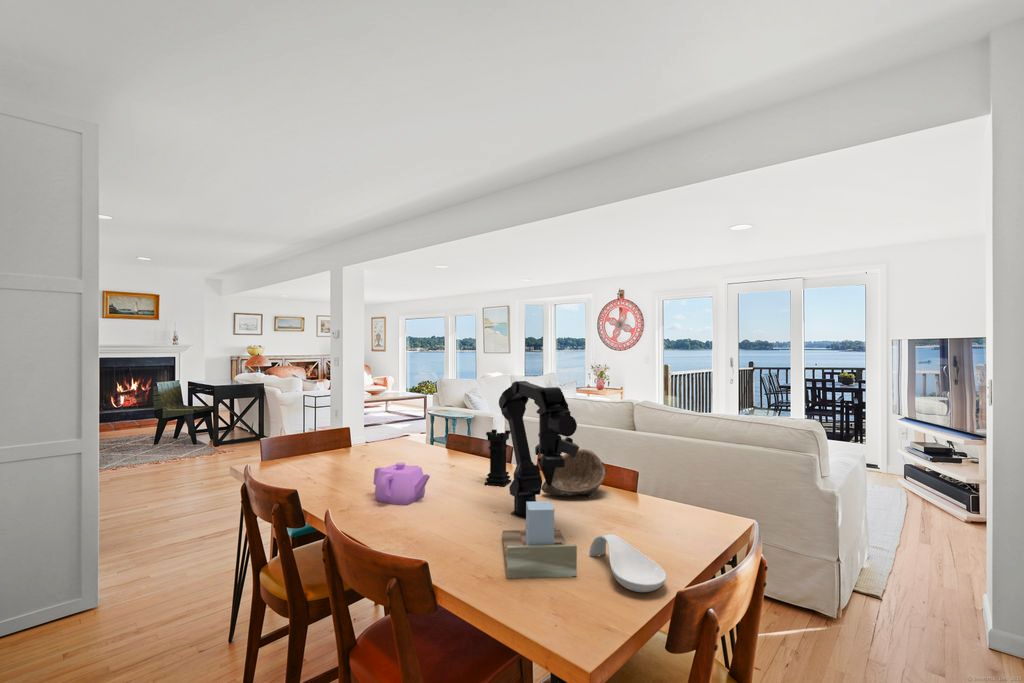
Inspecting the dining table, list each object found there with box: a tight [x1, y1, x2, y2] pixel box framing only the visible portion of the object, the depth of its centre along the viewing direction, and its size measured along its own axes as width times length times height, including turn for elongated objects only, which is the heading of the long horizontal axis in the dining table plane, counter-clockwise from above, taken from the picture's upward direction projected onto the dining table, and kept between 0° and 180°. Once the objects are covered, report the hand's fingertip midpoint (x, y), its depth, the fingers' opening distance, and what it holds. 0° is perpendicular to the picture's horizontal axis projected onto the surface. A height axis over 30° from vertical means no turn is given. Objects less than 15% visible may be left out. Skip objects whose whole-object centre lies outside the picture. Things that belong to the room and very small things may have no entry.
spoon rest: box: [588, 533, 667, 593], centre depth 116 cm, size 24×12×7 cm, turn 22°
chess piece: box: [484, 429, 512, 488], centre depth 192 cm, size 8×8×20 cm
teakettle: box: [373, 462, 431, 506], centre depth 173 cm, size 17×17×12 cm
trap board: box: [501, 529, 578, 579], centre depth 126 cm, size 24×16×7 cm, turn 4°
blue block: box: [525, 500, 555, 546], centre depth 119 cm, size 6×6×13 cm
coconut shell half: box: [541, 448, 608, 497], centre depth 181 cm, size 15×16×25 cm
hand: (549, 485), depth 144 cm, fingers closed
